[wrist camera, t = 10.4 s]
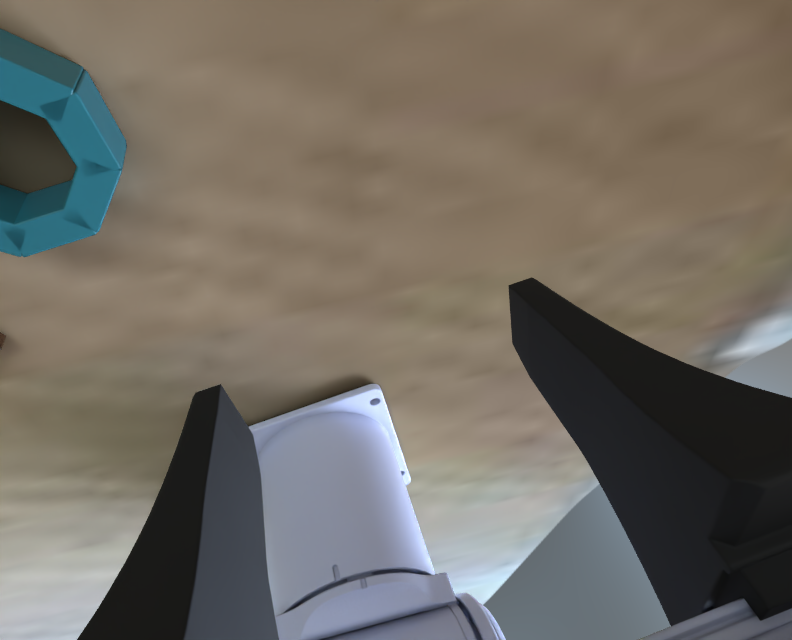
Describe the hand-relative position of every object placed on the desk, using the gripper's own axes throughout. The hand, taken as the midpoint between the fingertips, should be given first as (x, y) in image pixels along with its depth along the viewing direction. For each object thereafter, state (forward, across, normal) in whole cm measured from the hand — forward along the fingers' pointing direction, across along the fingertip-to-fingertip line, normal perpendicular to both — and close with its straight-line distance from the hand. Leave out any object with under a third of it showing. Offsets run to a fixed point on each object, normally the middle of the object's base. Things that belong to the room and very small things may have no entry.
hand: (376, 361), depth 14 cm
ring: (+9, +8, -5) cm, 13 cm away
